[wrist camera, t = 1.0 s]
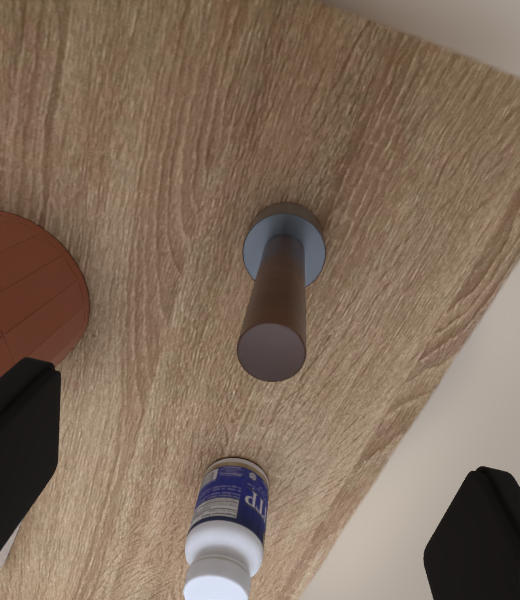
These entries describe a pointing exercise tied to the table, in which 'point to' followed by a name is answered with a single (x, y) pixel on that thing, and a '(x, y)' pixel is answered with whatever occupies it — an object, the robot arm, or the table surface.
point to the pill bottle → (227, 531)
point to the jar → (38, 295)
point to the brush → (279, 289)
